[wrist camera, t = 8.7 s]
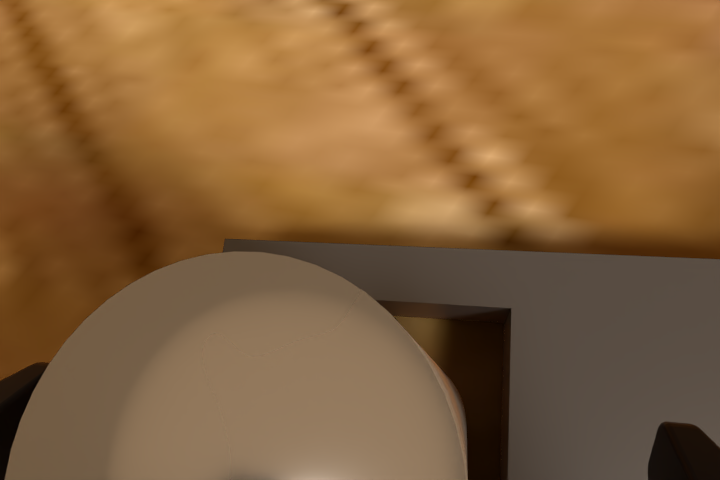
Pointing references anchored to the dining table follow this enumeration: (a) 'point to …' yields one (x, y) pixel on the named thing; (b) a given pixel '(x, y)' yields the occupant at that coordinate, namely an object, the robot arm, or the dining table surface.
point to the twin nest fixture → (562, 342)
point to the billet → (241, 384)
